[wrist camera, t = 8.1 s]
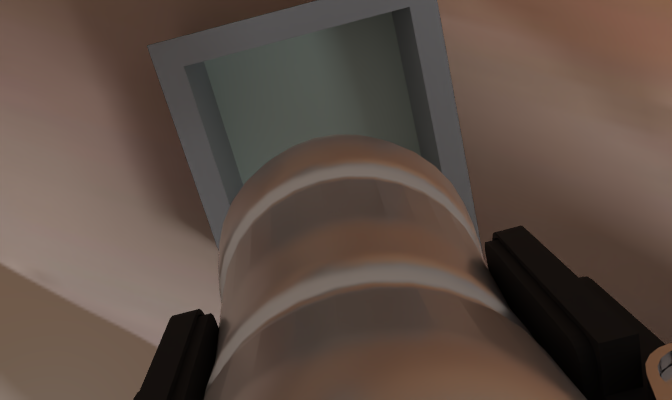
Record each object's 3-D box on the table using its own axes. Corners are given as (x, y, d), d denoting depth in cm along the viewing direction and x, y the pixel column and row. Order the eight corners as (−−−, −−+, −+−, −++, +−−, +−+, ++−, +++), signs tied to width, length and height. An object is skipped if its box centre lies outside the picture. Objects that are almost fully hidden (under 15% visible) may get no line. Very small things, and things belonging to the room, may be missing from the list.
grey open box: (450, 213, 33) (482, 253, 27) (251, 264, 33) (241, 315, 28) (405, -21, 29) (431, -31, 23) (176, 40, 29) (146, 45, 23)
